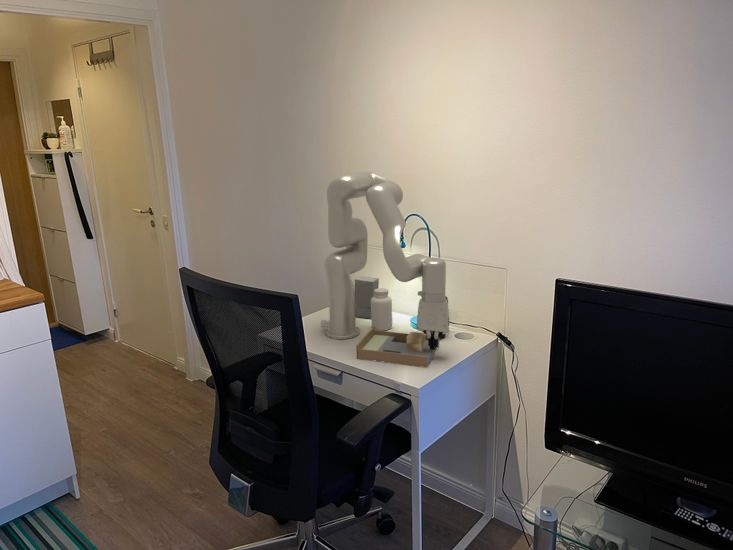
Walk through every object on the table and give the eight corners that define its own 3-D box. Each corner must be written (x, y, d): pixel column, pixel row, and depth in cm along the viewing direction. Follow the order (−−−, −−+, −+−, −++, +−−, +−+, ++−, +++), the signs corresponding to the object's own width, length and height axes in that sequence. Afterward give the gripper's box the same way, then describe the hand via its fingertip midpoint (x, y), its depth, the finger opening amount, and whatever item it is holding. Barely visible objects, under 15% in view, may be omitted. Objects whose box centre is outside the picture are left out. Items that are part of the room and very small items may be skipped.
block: (406, 350, 189) (406, 336, 187) (410, 345, 193) (410, 331, 192) (421, 352, 187) (421, 338, 186) (424, 346, 191) (424, 333, 190)
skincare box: (353, 317, 228) (352, 279, 223) (360, 311, 234) (359, 275, 230) (373, 319, 224) (372, 281, 220) (379, 314, 231) (379, 276, 226)
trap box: (356, 358, 188) (356, 344, 187) (374, 339, 205) (373, 326, 203) (426, 367, 180) (426, 352, 179) (439, 346, 197) (439, 332, 195)
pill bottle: (382, 322, 221) (381, 285, 217) (396, 327, 215) (396, 289, 211) (367, 327, 216) (366, 290, 212) (381, 332, 210) (380, 294, 206)
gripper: (408, 297, 182) (408, 350, 187) (454, 301, 177) (453, 355, 182) (414, 290, 189) (414, 341, 194) (458, 294, 184) (457, 346, 189)
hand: (433, 348), depth 188 cm, fingers closed
